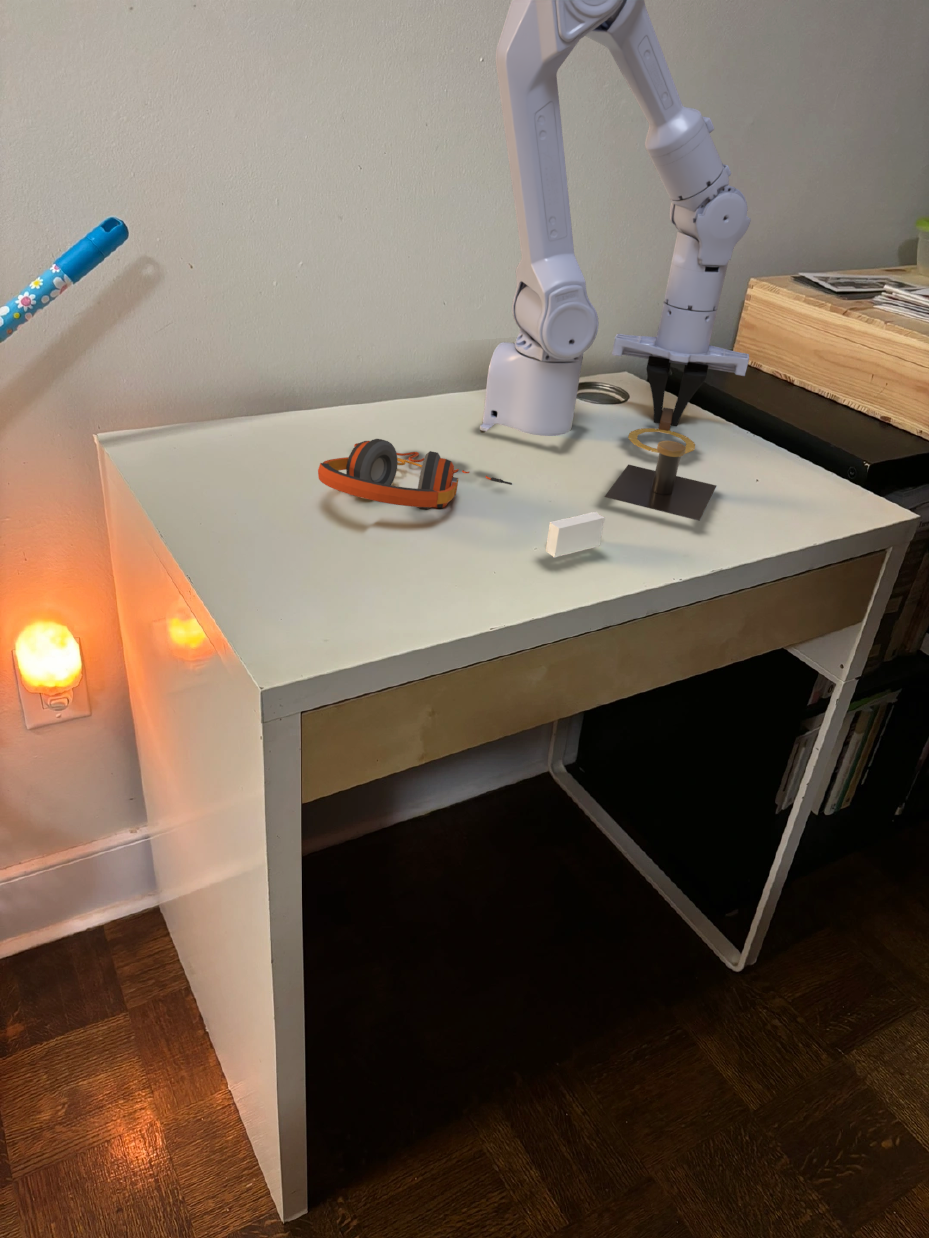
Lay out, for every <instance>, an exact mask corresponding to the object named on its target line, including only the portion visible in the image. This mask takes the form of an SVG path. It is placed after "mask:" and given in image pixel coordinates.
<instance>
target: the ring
mask: <svg viewBox="0 0 929 1238" xmlns="http://www.w3.org/2000/svg"><path fill="white" fill-rule="evenodd" d="M673 411H674V408H670V407H665V406H663V409H662V415H661V420H660V424H659V423H658V424H659V425H658V428H655V427H651V428H649V427H648V428H647V427H646V428H644V427H643V428H637V429H634V430H631V431H630V432H629V433H628V436H627V439H628V440H629V441H630V442H631V443H632V444H633V445H634V446H636V447H638V448H640V449H643V450H646V451H648V452H652V453H656V454H657V453H658V454H659V452H658V451H657V447H656V448H655V447H652V446H649V445H647V444H644V443H642V442H641V441H640V440H639V439H638V437H639V435H642V434H644V433H656V432H657V433H662V434H667V435H671V436H674V437H676V438H679V439H681V441H683V442H684V443H685V447H686V450H685V454H684V455H686V454H689V453H692V452H694V451H695V450H696V443H695V441H693V440H692V439H691V438H689V437H688V436H686V435H684V434H681V433H679V432H676V431H672V430H671V421H672V415H673Z"/></svg>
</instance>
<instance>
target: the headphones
mask: <svg viewBox="0 0 929 1238" xmlns="http://www.w3.org/2000/svg"><path fill="white" fill-rule="evenodd" d="M419 455H420V453H419V452H418V451H411V452H405V453H404V452H403V453H400V452H397V451H396V448H395V446H394V445H393V443H392V442H390V441H389V440H385V439H382V438H373V439H371V440H363V441H361V442H357V443H354V444H353V448H352V450H351V451H350V453H349V456H346V457H337V458H331V459H327V460H324V461H323V462H320V463H319V466H318V468H317V476H318V477H317V478H318V480H319V481H320V483H322V484H323V485H325V486H327V487H328V488H331V489H333V490H335V491H337V492H338V491H339V492H341V493H343V494H347V495H349V496H354V497H357V498H361V499H365V500H369V501H374V502H377V503H383V504H390V505H395V506H396V505H397V506H402V507H403V506H405V507H414V508H418V509H422V510H430V509H433V508H434V509H444V508H446V507H447V506H448V504H449V503H450V502H451V501H452V500H453V499H454V497H455V496H456V495H457V490H458V485H459V477H456V476H454V475H455V473H457V472H458V471H459V470H460V469H459V468H457V469H455V465H454V464H453V461H451V460H449V459H447V458H442V457H441V455H440V454H439V452H437V451H432V450H429V451H428V452H427V453H426V454H425V456H424V457H423V458H421V459H415V458H416V457H418V456H419ZM398 456H401V457H404V456H405V457H406V456H408V460H407V459H403V458H400V457H398ZM420 463H422V464H420ZM406 464H410V465H414V466H417V467H419V468H421V469H420V473H419V478H418V484H417V488H415V487H405V486H399V485H398V486H397V485H392V484H393V483H394V481H395V478H396V476H397V472H398V466H405V465H406ZM342 471H345V473H344V472H342ZM461 472H462V474H469V473H470V471H465V470H464V469H462V470H461ZM485 478H486V479H487V480H490V481H491V482H496V483H500V484H506V485H509V486H510V485H511V486H512V485H513V483H512V482H510V481H505V480H504V479H501V478H497V477H489V476H487V475H485Z"/></svg>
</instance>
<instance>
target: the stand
mask: <svg viewBox="0 0 929 1238" xmlns="http://www.w3.org/2000/svg"><path fill="white" fill-rule="evenodd" d="M656 449H657V451H658V452H659V453H658V456H657V462H656V467H655V469H649V468H645V467H641V466H637V465H633V464H627V465H626V467H625V468H624V469H623V471H622V472H621V474H620V475H619V476H618V477H617V478H616V480H615V482H614V483H613V484H612V486H611V487H610V488H609V490H608V491H607V492H606V494H605V495H604V498H606V499H607V498H608V499H611V500H614V501H619V502H623V503H626V504H631V505H634V506H639V507H643V508H647V509H650V510H655V511H659V512H662V513H666V514H669V515H670V514H671V515H675V516H678V517H682V518H686V519H690V520H694V521H698V522H699V521H700V520H701V519H702V516H703V515H704V512H705V510H706V508H707V506H708V504H709V502H710V501H711V498H712V496H713V494H714V492H715V490H716V488H717V485H716V484H712V483H708V482H704V481H700V480H696V479H692V478H686V477H683V476H679V475H677V474H678V471H679V465H680V461H681V457H683V456H684V455H686V454H685V450H686V445H684V444H682V443H681V442H678V441H674V440H660V441H658V443H657V446H656Z"/></svg>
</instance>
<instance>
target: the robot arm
mask: <svg viewBox="0 0 929 1238" xmlns="http://www.w3.org/2000/svg"><path fill="white" fill-rule="evenodd" d="M584 37H586V38H588V39H591V40H592V41H594V42H596V43H598V44H600V45H601V46H604V47H606V49H608V51H609V52H610V54H611V56H612V58H613V60H614V61H615V63H616V65H617V68H618V69H619V71H620V73H621V75H622V77H623V78H624V80H625V82H626V84H627V86H628V88H629V89H630V91H631V93H632V96H633V97H634V99H635V101H636V103H637V104H638V106H639V108H640V110H641V112H642V114H643V116H644V118H645V119H646V121H647V123H648V130H647V133H646V136H645V140H644V148H645V150H646V152H647V154H648V156H649V159H650V161H651V163H652V165H653V166H654V169H655V171H656V173H657V175H658V177H659V179H660V181H661V184H662V185H663V187H664V190H665V192H666V194H667V196H668V198H669V200H670V206H669V220H670V223H671V224H672V225H674V226H675V228H676V230H677V232H676V236H675V243H674V247H673V253H672V258H671V262H670V266H669V267H670V268H669V273H668V277H667V283H666V288H665V292H664V298H663V302H662V308H661V312H660V317H659V322H658V329H657V332H656V336H651V335H648V336H647V335H634V334H623V333H616V335H615V336H614V339H613V346H612V352H611V355H612V356H614V357H615V356H616V357H622V356H627V357H633V358H639V359H645V360H647V365H646V368H645V369H646V375H647V379H648V383H649V386H650V391H651V397H652V404H653V405H652V407H653V423H654V424H660V420H661V415H662V411H663V407H664V402H665V401H664V400H665V393H666V388H667V382H668V378H669V373H670V370H671V369H670V368H671V364H675V365H676V364H677V365H683V371H682V377H681V381H680V386H679V389H678V390H679V391H678V395H677V398H676V402H675V404H674V408H673V409H674V410H673V415H672V421H671V425H670V427H671V426H672V427H677V426H678V424H679V422H680V419H681V417H682V415H683V413H684V411H685V409H686V408H687V406H688V404H689V403H690V401H691V400H692V398H693V397H694V395H695V394H696V393H697V392H698V390H699V389H700V387H701V386H702V385H703V384H704V382H705V381H706V379H707V377H708V370H715V371H721V372H728V373H734V375H735V376H739V377H740V376H742V377H745V376H746V373H747V369H748V366H749V362H750V354H749V353H745V352H739V351H735V350H731V349H728V348H727V349H726V348H723V347H718V346H716V345H715V346H714V345H711V338H712V334H713V331H714V326H715V321H716V317H717V313H718V309H719V304H720V300H721V296H722V292H723V287H724V282H725V279H726V275H727V270H728V266H729V261H731V260H732V255H733V251H734V249H735V247H736V245H737V244H738V243H739V242H740V241H741V239H742V238H743V237H744V236H745V234H746V233H747V231H748V229H749V227H750V225H751V221H752V219H751V217H749V216H748V210H749V209H748V202H747V199H746V197H745V195H744V193H743V192H742V191H741V190H740V189H739V188H736V187H735V186H732V185H729V184H730V177H731V175H732V170H731V168H730V166H729V164H725V163H723V161H722V159H721V156H720V153H719V152H718V149H717V148H716V145H715V142H714V140H713V138H712V135H711V133H712V132H713V131H715V126H714V124H713V122H712V119H711V117H709V116H704V115H703V114H702V112H701V111H700V110H699V109H697V108H693V107H688V106H684V105H683V103H682V100H681V97H680V95H679V92H678V89H677V87H676V84H675V81H674V78H673V76H672V73H671V71H670V68H669V65H668V62H667V59H666V57H665V54H664V52H663V49H662V47H661V44H660V41H659V39H658V36H657V33H656V31H655V27H654V25H653V23H652V20H651V18H650V15H649V12H648V9H647V5H646V1H645V0H510V4H509V7H508V11H507V13H506V17H505V20H504V23H503V27H502V30H501V34H500V36H499V39H498V43H497V45H496V48H495V49H496V50H495V68H496V76H497V82H498V83H497V84H498V91H499V97H500V105H501V112H502V113H501V114H502V121H503V128H504V136H505V143H506V151H507V157H508V164H509V165H508V166H509V173H510V180H511V181H510V182H511V187H512V188H511V189H512V195H513V201H514V202H513V203H514V204H513V205H514V210H515V216H516V217H515V218H516V225H517V232H518V240H519V247H520V248H519V249H520V255H521V258H520V260H519V263H518V265H517V266H516V268H515V278H516V279H515V280H516V287H515V292H514V295H513V299H512V303H511V312H512V317H513V320H514V322H515V324H516V326H517V327H518V328H519V331H518V334H517V337H516V340H515V342H508V341H502V342H499V344H497V346H496V347H495V348H494V351H493V353H492V355H491V357H490V362H489V366H488V370H487V379H486V385H485V386H486V387H485V398H484V406H483V416H482V424H480V425H479V430H480V431H482V432H488V431H489V429H491V428H492V427H493V426H494V425H500V426H504V427H507V428H510V429H514V430H516V431H519V432H521V433H524V434H529V435H533V436H540V437H541V436H542V437H554V436H555V437H556V436H561V435H565V434H568V433H570V431H571V430H573V424H574V423H573V422H574V416H575V409H576V405H577V404H576V403H577V397H578V391H579V384H580V378H581V371H582V365H583V359H584V353H586V352H587V351H588V350H589V349H590V348H591V346H592V345H593V343H594V342H595V340H596V338H597V335H598V331H599V323H600V322H599V316H598V312H597V310H596V307H595V306H594V305H593V303H592V302H591V301H590V299H589V296H588V293H587V283H586V279H585V276H584V273H583V272H582V270H581V267H580V264H579V262H578V260H577V257H576V254H575V246H574V237H573V228H572V227H573V226H572V217H571V207H570V198H569V197H570V196H569V186H568V175H567V167H566V157H565V156H566V155H565V147H564V137H563V126H562V118H561V117H562V115H561V106H560V97H559V95H560V94H559V87H558V78H557V77H558V76H557V75H558V70H559V69H560V68H561V66H563V63H564V62H565V61H566V59H567V58H568V57H569V55H570V54H571V53H572V51H573V50H574V49H575V47H576V46H577V45H578V43H579V42H580V40H581V39H583V38H584Z"/></svg>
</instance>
